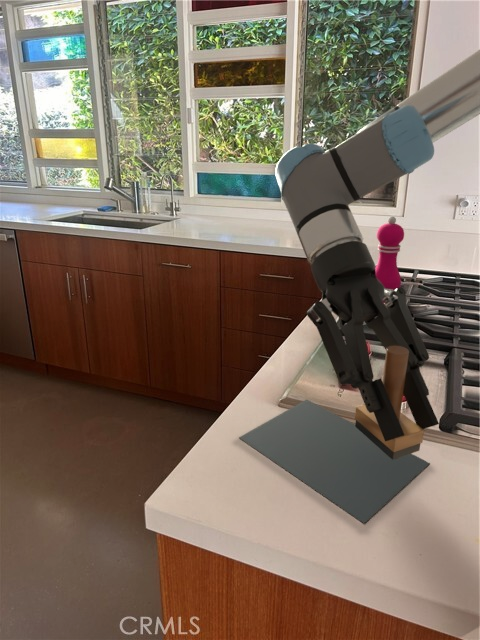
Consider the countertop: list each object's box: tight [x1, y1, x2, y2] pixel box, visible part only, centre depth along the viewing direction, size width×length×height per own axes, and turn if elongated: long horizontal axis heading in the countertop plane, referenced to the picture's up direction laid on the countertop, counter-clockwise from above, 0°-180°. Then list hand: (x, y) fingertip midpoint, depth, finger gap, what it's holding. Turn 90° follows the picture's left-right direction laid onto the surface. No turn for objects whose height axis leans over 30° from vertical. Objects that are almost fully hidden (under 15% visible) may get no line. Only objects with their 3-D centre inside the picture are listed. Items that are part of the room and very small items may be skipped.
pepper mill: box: [375, 216, 405, 303], centre depth 108 cm, size 7×7×20 cm
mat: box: [238, 399, 431, 525], centre depth 60 cm, size 20×14×1 cm
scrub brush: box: [354, 346, 425, 460], centre depth 54 cm, size 7×4×12 cm, turn 24°
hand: (411, 432), depth 52 cm, fingers closed on scrub brush, 4 cm apart
